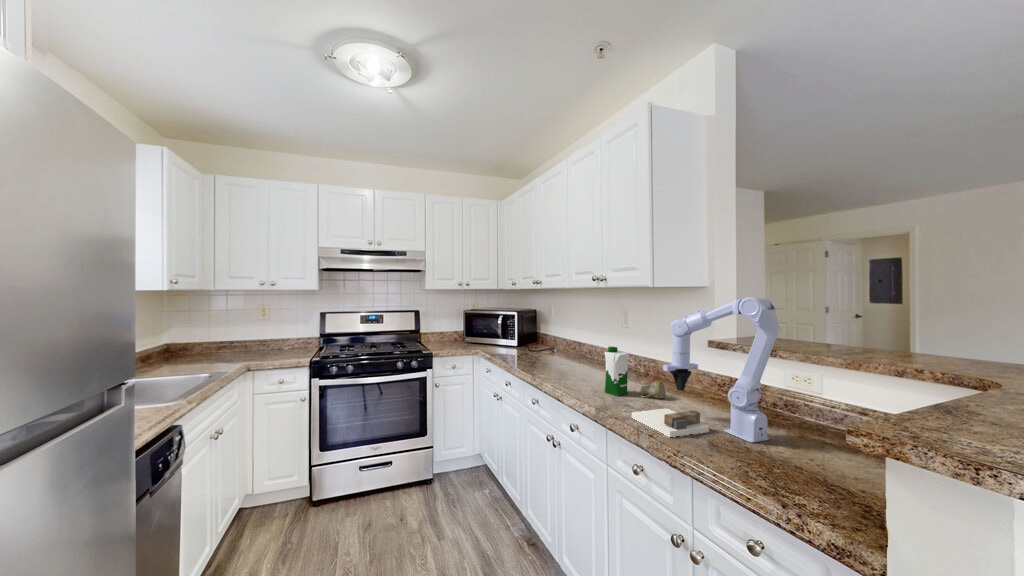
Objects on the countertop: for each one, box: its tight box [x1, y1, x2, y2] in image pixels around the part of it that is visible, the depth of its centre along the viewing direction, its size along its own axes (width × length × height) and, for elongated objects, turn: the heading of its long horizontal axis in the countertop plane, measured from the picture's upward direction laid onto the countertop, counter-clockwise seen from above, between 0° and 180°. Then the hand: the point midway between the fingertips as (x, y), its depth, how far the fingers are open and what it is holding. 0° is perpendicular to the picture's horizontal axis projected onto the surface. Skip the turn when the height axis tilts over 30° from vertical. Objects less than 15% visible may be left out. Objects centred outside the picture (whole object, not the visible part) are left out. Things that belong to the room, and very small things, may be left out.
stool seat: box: [631, 408, 710, 438], centre depth 122 cm, size 18×16×4 cm
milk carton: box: [604, 346, 630, 397], centre depth 159 cm, size 9×9×20 cm
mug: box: [640, 380, 666, 400], centre depth 155 cm, size 8×10×10 cm
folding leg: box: [664, 410, 701, 427], centre depth 118 cm, size 13×3×3 cm, turn 113°
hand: (680, 389), depth 132 cm, fingers closed
